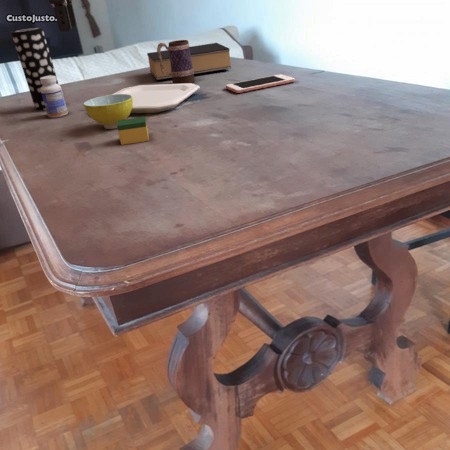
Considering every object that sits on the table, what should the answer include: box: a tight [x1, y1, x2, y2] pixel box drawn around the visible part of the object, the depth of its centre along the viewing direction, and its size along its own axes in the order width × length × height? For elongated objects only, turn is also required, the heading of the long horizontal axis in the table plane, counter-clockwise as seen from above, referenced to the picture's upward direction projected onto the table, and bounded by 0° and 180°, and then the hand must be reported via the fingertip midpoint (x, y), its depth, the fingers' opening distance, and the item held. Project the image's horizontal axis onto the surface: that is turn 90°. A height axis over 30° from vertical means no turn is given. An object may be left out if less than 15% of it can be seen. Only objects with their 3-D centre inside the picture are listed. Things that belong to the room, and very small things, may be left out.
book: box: [146, 42, 232, 82], centre depth 160 cm, size 17×25×7 cm
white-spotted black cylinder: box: [10, 26, 60, 112], centre depth 134 cm, size 8×8×20 cm
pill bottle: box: [40, 76, 69, 119], centre depth 127 cm, size 5×5×10 cm
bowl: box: [83, 93, 133, 130], centre depth 113 cm, size 11×12×6 cm
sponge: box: [116, 116, 150, 146], centre depth 103 cm, size 6×4×4 cm
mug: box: [156, 39, 196, 84], centre depth 144 cm, size 10×7×12 cm
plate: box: [111, 83, 201, 114], centre depth 130 cm, size 25×25×2 cm
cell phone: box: [225, 73, 296, 94], centre depth 134 cm, size 9×18×1 cm, turn 112°
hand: (68, 28), depth 90 cm, fingers open, 8 cm apart
